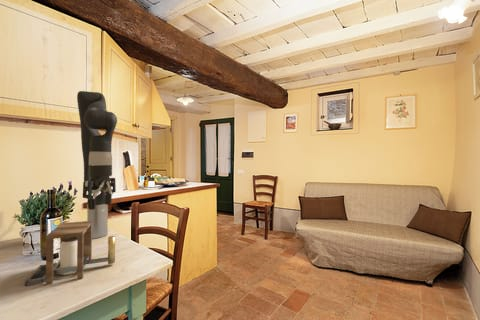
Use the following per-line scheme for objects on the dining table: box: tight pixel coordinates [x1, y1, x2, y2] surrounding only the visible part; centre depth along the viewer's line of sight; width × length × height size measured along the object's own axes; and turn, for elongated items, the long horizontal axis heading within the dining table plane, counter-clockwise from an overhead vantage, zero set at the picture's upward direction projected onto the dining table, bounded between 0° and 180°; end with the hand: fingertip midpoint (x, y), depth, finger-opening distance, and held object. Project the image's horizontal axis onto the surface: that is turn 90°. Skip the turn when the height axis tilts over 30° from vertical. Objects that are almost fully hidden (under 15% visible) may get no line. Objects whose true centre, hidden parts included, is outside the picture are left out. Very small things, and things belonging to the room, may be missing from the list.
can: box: [59, 236, 77, 276], centre depth 84 cm, size 6×6×12 cm
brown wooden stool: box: [45, 220, 93, 285], centre depth 84 cm, size 16×10×16 cm, turn 23°
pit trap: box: [24, 262, 58, 287], centre depth 80 cm, size 12×5×2 cm, turn 23°
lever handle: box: [53, 235, 116, 275], centre depth 85 cm, size 9×19×10 cm, turn 113°
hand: (100, 206), depth 86 cm, fingers open, 8 cm apart
